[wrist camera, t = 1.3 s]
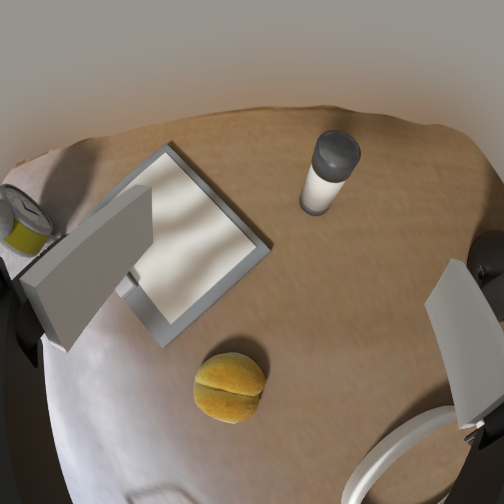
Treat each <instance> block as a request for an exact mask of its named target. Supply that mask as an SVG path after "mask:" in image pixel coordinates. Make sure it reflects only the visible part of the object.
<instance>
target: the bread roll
mask: <svg viewBox="0 0 504 504" xmlns="http://www.w3.org/2000/svg"><path fill="white" fill-rule="evenodd" d="M265 383H266V382H265V376H264V374H263V372H262V370H261V369H260V368H259V366H258V365H257V364H256V363H255V362H254V361H253V360H252V359H250V358H249V357H247V356H245V355H243V354H240V353H235V352H230V353H223V354H218V355H215V356H213V357H211V358H210V359H208V360H207V361H205V362H204V363H203V364H202V365H201V366H200V368H199V369H198V371H197V373H196V376H195V381H194V388H193V393H194V399H195V402H196V404H197V406H198V407H199V408H200V409H201V410H202V411H203V412H205V413H206V414H208V415H209V416H211V417H213V418H214V419H218V420H221V421H224V422H227V423H233V424H235V423H237V422H240V421H243V420H246V419H248V418H249V417H251V416H252V415H253V413H254V412H255V411H256V409H257V407H258V403H259V394H260V392H261V391H262V390H263V389H264V387H265Z"/></svg>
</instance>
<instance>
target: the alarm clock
mask: <svg viewBox="0 0 504 504" xmlns="http://www.w3.org/2000/svg"><path fill="white" fill-rule="evenodd" d="M52 230H53V226H52V222H51V220H50V219H49V217H48V216H47V214H46V213H45V212H44V210H43V209H42V208H41V207H40V206H39V205H38V204H37V203H36V202H35V201H34V200H33V199H32V198H31V197H29V196H28V195H27V194H26V193H24V192H23V191H22V190H20V189H18V188H17V187H15V186H13V185H10V184H3V185H1V186H0V243H1V244H2V245H3V246H4V247H6V248H7V249H9V250H10V251H12V252H13V253H15V254H17V255H19V256H22V257H27V258H31V257H34V256H36V255H37V254H38V253H39V252H40V250H41V249H42V247H43V246H44V244H45V243H46V242H47V243H50V244H52V243H53V242H55V241H56V240H57V238H56V237H55V236H53V235H52V234H51V232H52Z"/></svg>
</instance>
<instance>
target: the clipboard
mask: <svg viewBox="0 0 504 504" xmlns="http://www.w3.org/2000/svg"><path fill="white" fill-rule="evenodd" d="M136 184H138V185H145V186H151V187H152V222H153V244H152V245H151V246H150V247H149V249H148V250H147V251H146V252H145V253H144V254H143V256H142V257H141V258H140V259H139V260H138V261H137V263H136V264H135V265H134V266H133V267H132V269H131V270H130V271H129V272H128V273H127V275H126V276H125V277H124V278H123V280H122V281H121V282H120V283H119V284H118V286H117V287H116V288H115V291H116V292H117V293H118V295H119V296H120V298H124V299H125V301H126V302H127V304H128V305H129V306H130V308H131V309H132V310H133V312H134V313H135V314H136V316H137V317H138V318H139V320H140V321H141V322H142V324H143V325H144V326H145V328H146V329H147V330H148V331H149V333H150V334H151V335H152V336H153V338H154V339H155V340H156V341H157V343H158V344H159V345H160V346H161V348H162V349H163V348H165V347H166V346H167V345H169V344H170V343H171V342H172V341H173V340H174V339H175V338H176V337H178V336H179V335H180V334H181V333H182V332H183V331H184V330H185V329H187V328H188V327H189V326H190V325H191V324H192V323H193V322H194V321H195V320H197V319H198V318H199V317H200V316H201V315H202V314H203V313H204V312H206V311H207V310H208V309H209V308H210V307H211V306H212V305H213V304H214V303H216V302H217V301H218V300H219V299H220V298H221V297H222V296H223V295H224V294H225V293H227V292H228V291H229V290H230V289H231V288H232V287H233V286H234V285H235V284H237V283H238V282H239V281H240V280H241V279H242V278H243V277H244V276H245V275H246V274H248V273H249V272H250V271H251V270H252V269H253V268H254V267H255V266H256V265H257V264H258V263H260V262H261V261H262V260H263V259H264V258H265V257H266V256H267V255H268V254H269V253H270V252H271V250H270V249H269V248H268V247H267V246H266V245H265V244H264V243H263V242H262V241H261V240H260V239H259V238H258V237H257V236H256V235H255V234H254V233H253V232H252V231H251V229H250V228H249V227H248V226H247V225H246V224H245V223H244V222H243V221H242V220H241V219H240V218H239V217H238V216H237V215H236V214H235V213H234V212H233V211H232V210H231V209H230V208H229V207H228V206H227V205H226V204H225V203H224V202H223V201H222V200H221V199H220V198H219V196H218V195H217V194H216V193H215V192H214V191H213V190H212V189H211V188H210V187H209V186H208V185H207V184H206V183H205V182H204V181H203V180H202V179H201V178H200V177H199V176H198V175H197V174H196V173H195V172H194V171H193V170H192V169H191V168H190V167H189V166H188V165H187V164H186V163H185V162H184V161H183V160H182V159H181V158H180V157H179V156H178V155H177V154H176V153H175V152H174V151H173V150H172V149H171V148H170V147H169V146H168V145H167V144H164V145H163V146H162V147H161V148H159V149H158V150H157V151H156V152H155V153H153V154H152V155H151V156H150V157H149V158H147V159H146V160H145V161H144V162H143V163H142V164H140V165H139V166H138V167H137V168H136V169H135V170H134V171H132V172H131V173H130V174H129V175H128V176H127V177H126V178H125V179H124V180H123V181H122V182H120V183H119V184H118V185H117V186H116V187H115V188H114V189H113V190H112V191H111V192H110V193H109V194H108V195H107V196H106V197H105V198H104V199H103V200H102V201H101V202H100V203H99V204H98V205H97V206H96V207H95V208H94V209H93V210H92V211H91V212H90V213H89V214H88V215H87V216H86V217H85V218H84V219H83V220H82V222H81V223H80V224H79V225H78V226H80V225H81V224H82V223H83V222H85V221H86V220H87V219H89V218H90V217H91V216H93V215H94V214H95V213H97V212H98V211H99V210H101V209H102V208H103V207H105V206H106V205H107V204H109V203H110V202H111V201H113V200H114V199H116V198H117V197H119V196H120V195H121V194H123V193H124V192H126V191H127V190H129V189H130V188H132V187H133V186H135V185H136Z"/></svg>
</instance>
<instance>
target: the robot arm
mask: <svg viewBox="0 0 504 504" xmlns="http://www.w3.org/2000/svg"><path fill="white" fill-rule="evenodd" d="M152 244H153V222H152V187H151V186H145V185H138V184H136V185H135V186H133V187H132V188H130V189H129V190H127V191H126V192H124V193H123V194H121V195H120V196H119V197H117V198H116V199H114V200H113V201H111V202H110V203H109V204H107V205H106V206H105V207H103V208H102V209H101V210H99V211H98V212H97V213H95V214H94V215H93V216H91V217H90V218H89V219H87V220H86V221H85V222H83V223H82V224H81V225H80V226H78V227H77V228H76V229H75V230H73V231H72V232H71V233H69V234H67V235H65V236H63V237H61V238H59V239H57V240H56V241H55V242H53V243H52V244H51V245H50V246H49V247H47V250H46V249H45V250H44V251H43V252H42V253H41V254H40V256H37V257H36V258H35V259H34V260H33V261H32V262H31V263H30V264H28V265H27V266H26V267H25V268H24V269H23V270H22V271H21V272H20V273H19V274H18V275H17V276H16V277H15V278H14V279H13V280H12V281H11V278H10V276H9V274H8V271H7V268H6V266H5V263H4V261H3V259H2V257H0V504H73V503H72V500H71V497H70V495H69V492H68V489H67V486H66V483H65V480H64V476H63V473H62V470H61V466H60V463H59V459H58V455H57V451H56V447H55V442H54V438H53V433H52V428H51V422H50V417H49V410H48V403H47V395H46V386H45V375H44V360H43V344H42V340H41V339H40V338H41V336H42V335H43V334H44V333H45V334H46V336H47V338H48V339H49V341H50V343H51V344H52V345H54V346H55V347H57V348H59V349H61V350H62V351H64V352H66V353H68V351H69V350H70V349H71V347H72V346H73V344H74V343H75V341H76V340H77V339H78V337H79V336H80V334H81V333H82V332H83V330H84V329H85V327H86V326H87V325H88V323H89V322H90V321H91V319H92V318H93V317H94V315H95V314H96V313H97V311H98V310H99V309H100V307H101V306H102V305H103V303H104V302H105V301H106V300H107V298H108V297H109V296H110V295H111V293H112V292H113V291H114V289H115V288H116V287H117V286H118V284H119V283H120V282H121V281H122V280H123V278H124V277H125V276H126V275H127V273H128V272H129V271H130V270H131V269H132V267H133V266H134V265H135V264H136V263H137V261H138V260H139V259H140V258H141V257H142V256H143V254H144V253H145V252H146V251H147V250H148V249H149V247H150V246H151V245H152ZM424 305H425V308H426V310H427V313H428V316H429V319H430V321H431V324H432V327H433V330H434V333H435V336H436V339H437V342H438V345H439V348H440V351H441V355H442V358H443V362H444V365H445V369H446V372H447V376H448V380H449V384H450V388H451V392H452V396H453V401H454V405H455V410H456V415H457V421H458V426H459V429H462V428H468V427H472V426H474V425H475V424H476V423H478V422H479V421H481V420H482V419H483V418H484V423H485V424H483V425H482V426H481V427H479V428H478V429H476V430H475V431H473V432H472V433H471V434H469V435H467V436H466V438H465V439H464V440H465V441H467V440H468V439H470V438H471V437H475V438H474V439H472V440H470V441H469V442H468V444H470V445H471V446H472V447H471V449H470V451H469V454H468V456H467V458H466V461H465V463H464V465H463V467H462V469H461V471H460V473H459V475H458V477H457V479H456V481H455V483H454V485H453V487H452V489H451V491H450V493H449V494H448V496H447V498H446V500H445V501H444V503H443V504H504V333H503V331H502V328H501V326H500V324H499V322H503V321H504V231H500V230H491V231H489V232H486V233H484V234H482V235H480V236H479V237H478V238H477V239H476V240H475V241H474V243H473V245H472V247H471V250H470V253H469V257H468V263H467V267H466V266H465V264H464V263H463V262H462V261H459V260H456V259H453V258H451V260H450V262H449V264H448V265H447V267H446V269H445V271H444V273H443V274H442V276H441V278H440V280H439V281H438V283H437V285H436V286H435V288H434V290H433V291H432V293H431V294H430V296H429V298H428V299H427V301H426V302H425V304H424Z"/></svg>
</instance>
